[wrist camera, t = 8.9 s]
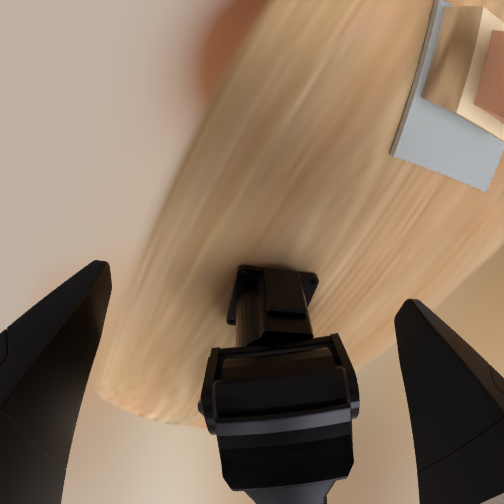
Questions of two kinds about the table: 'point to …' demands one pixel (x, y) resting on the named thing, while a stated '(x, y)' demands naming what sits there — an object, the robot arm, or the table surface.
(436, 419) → the robot arm
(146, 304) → the table surface
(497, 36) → the top brick
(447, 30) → the base brick
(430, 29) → the build plate
